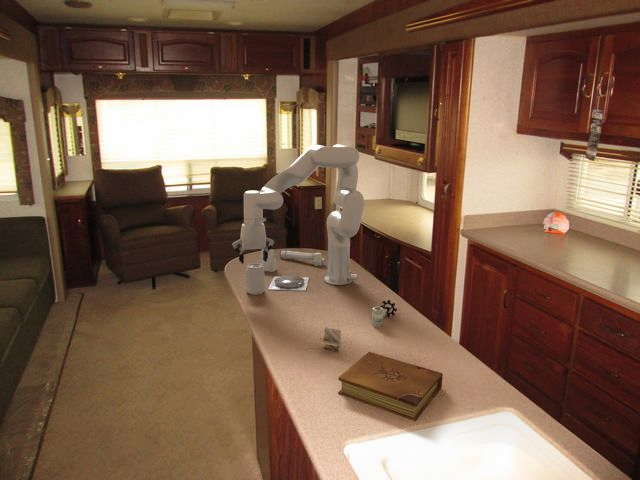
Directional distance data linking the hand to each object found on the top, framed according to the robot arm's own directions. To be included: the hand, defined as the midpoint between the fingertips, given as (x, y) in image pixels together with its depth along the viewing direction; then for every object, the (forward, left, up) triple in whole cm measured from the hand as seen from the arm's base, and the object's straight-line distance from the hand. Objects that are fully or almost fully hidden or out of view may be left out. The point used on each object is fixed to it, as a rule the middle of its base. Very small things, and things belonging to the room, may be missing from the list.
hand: (253, 261), depth 214 cm
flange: (-8, -15, -14) cm, 22 cm away
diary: (-74, +49, -14) cm, 90 cm away
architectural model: (-49, +33, -14) cm, 61 cm away
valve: (-57, +5, -14) cm, 59 cm away
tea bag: (+10, -28, -14) cm, 33 cm away
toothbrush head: (+1, -47, -14) cm, 49 cm away
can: (0, 0, -14) cm, 14 cm away
